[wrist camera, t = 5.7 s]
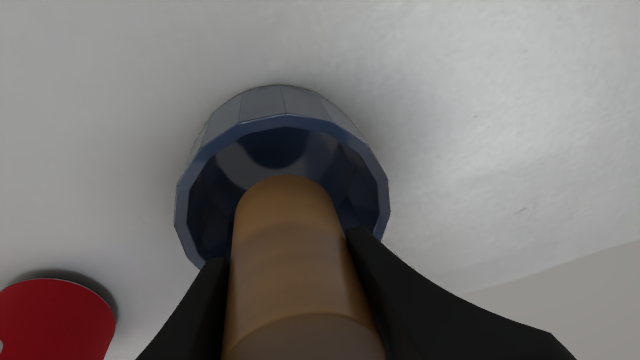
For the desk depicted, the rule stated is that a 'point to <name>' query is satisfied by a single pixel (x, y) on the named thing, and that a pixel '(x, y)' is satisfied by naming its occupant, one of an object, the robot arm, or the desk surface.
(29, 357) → the beverage can
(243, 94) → the cup
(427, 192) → the desk surface
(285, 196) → the brown cylinder
